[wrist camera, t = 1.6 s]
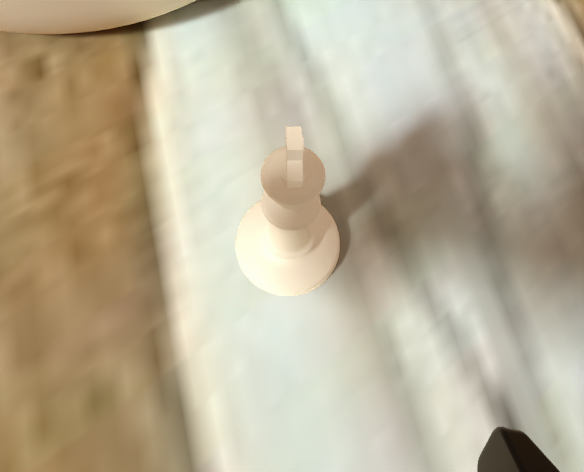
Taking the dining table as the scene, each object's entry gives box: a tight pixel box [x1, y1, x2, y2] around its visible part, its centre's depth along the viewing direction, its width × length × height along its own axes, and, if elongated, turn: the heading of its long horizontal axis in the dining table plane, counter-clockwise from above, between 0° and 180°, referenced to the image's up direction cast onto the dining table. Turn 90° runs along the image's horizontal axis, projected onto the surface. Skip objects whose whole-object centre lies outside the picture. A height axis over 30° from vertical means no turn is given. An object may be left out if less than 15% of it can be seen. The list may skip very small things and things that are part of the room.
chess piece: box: [236, 127, 340, 296], centre depth 17 cm, size 5×5×10 cm
